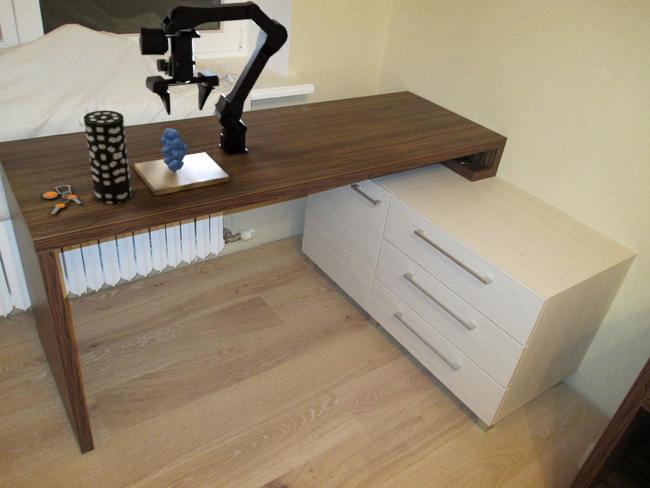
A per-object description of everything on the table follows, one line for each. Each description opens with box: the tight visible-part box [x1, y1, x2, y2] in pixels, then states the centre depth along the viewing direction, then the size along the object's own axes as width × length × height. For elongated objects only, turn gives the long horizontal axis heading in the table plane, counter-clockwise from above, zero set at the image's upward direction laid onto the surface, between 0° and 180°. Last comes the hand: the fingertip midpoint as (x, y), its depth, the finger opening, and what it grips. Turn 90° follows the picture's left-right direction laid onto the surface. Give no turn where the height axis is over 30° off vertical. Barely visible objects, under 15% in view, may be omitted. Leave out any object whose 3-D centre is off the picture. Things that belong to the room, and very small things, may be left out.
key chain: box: [42, 184, 82, 215], centre depth 128 cm, size 13×7×1 cm, turn 31°
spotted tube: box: [83, 110, 132, 205], centre depth 127 cm, size 8×8×20 cm
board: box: [133, 152, 230, 196], centre depth 145 cm, size 20×16×2 cm
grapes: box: [159, 127, 189, 172], centre depth 141 cm, size 12×7×12 cm, turn 35°
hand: (184, 112), depth 150 cm, fingers open, 9 cm apart
